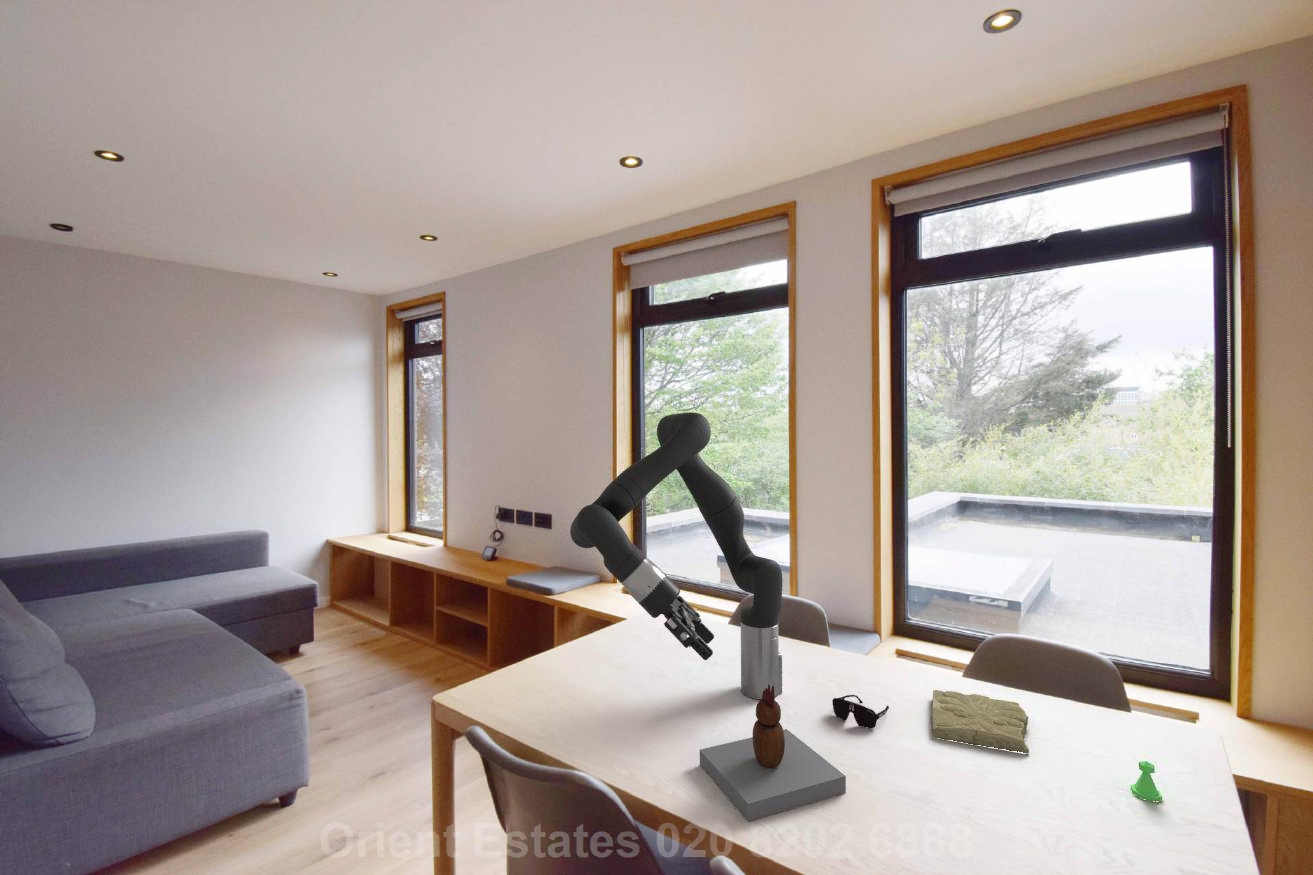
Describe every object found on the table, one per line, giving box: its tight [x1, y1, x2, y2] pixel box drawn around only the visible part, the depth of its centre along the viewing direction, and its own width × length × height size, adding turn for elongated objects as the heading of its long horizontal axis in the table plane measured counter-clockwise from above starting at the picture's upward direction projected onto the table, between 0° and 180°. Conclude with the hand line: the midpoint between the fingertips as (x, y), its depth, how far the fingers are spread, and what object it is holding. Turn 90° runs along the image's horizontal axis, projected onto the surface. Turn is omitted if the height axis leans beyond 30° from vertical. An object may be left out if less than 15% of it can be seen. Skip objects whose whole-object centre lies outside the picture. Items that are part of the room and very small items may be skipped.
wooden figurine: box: [752, 685, 785, 768], centre depth 109 cm, size 7×6×15 cm
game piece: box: [1130, 760, 1163, 803], centre depth 104 cm, size 4×4×6 cm
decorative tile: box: [931, 689, 1030, 754], centre depth 128 cm, size 19×20×4 cm
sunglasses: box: [831, 694, 890, 729], centre depth 133 cm, size 10×12×5 cm
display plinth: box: [699, 728, 847, 823], centre depth 109 cm, size 20×18×3 cm
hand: (710, 648), depth 113 cm, fingers open, 8 cm apart
